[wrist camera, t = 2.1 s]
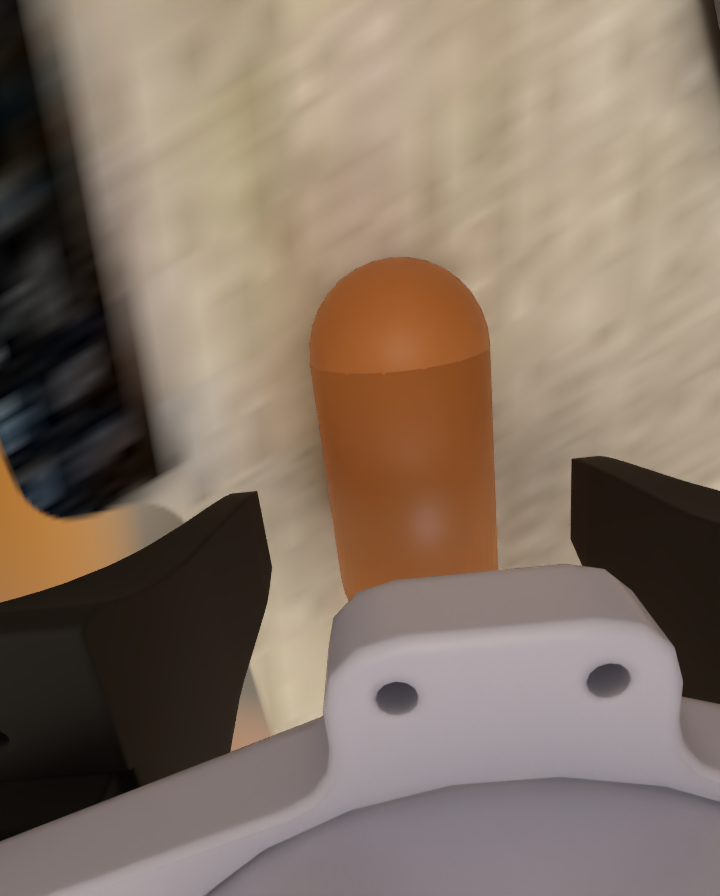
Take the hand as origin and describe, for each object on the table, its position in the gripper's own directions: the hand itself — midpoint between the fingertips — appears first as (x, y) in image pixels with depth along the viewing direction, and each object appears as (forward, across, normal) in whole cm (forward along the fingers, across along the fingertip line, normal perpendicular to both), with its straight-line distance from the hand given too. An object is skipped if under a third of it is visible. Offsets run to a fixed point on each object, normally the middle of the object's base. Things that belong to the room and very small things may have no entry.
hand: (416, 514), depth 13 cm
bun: (+5, 0, 0) cm, 5 cm away
